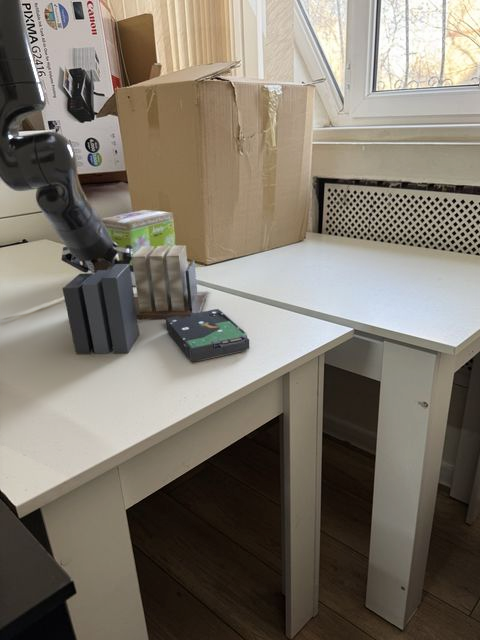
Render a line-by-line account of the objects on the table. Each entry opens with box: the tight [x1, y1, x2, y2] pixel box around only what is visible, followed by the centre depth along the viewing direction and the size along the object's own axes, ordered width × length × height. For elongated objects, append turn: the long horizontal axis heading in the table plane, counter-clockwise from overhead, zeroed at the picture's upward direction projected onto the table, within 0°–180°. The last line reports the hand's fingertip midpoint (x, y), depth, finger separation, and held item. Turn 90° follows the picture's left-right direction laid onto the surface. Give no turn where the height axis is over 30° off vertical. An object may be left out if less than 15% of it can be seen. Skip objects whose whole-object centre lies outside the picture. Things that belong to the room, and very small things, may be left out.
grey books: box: [62, 264, 140, 355], centre depth 85 cm, size 8×9×13 cm
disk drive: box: [165, 308, 250, 362], centre depth 87 cm, size 10×3×15 cm
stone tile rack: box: [132, 244, 207, 321], centre depth 100 cm, size 22×11×12 cm, turn 89°
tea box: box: [101, 209, 176, 287], centre depth 121 cm, size 15×10×15 cm, turn 148°
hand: (112, 277), depth 102 cm, fingers closed on white book, 2 cm apart
